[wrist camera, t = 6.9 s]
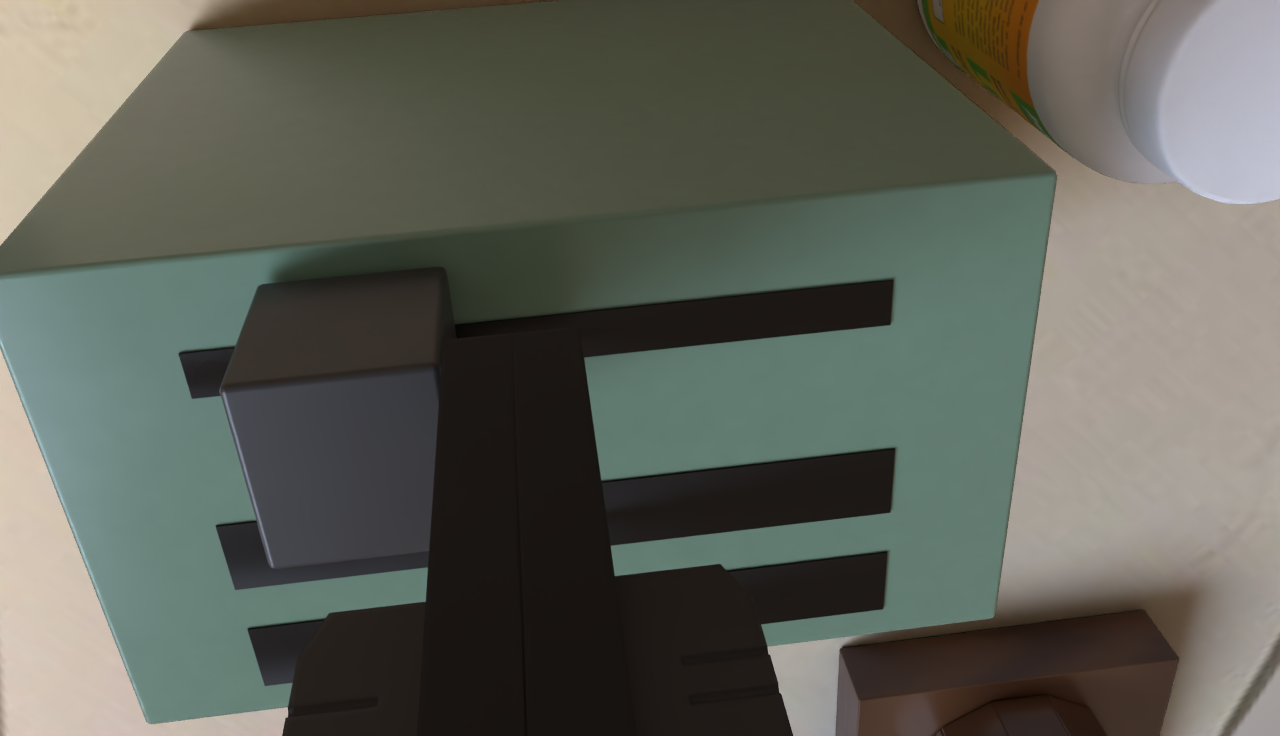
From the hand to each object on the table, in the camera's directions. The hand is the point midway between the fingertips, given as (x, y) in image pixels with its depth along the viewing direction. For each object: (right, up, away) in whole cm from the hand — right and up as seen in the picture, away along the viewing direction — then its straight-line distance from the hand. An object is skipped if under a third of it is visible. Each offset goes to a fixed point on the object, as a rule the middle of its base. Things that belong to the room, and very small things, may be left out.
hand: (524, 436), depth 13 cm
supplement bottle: (+10, +10, +13) cm, 19 cm away
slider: (-2, +1, +2) cm, 3 cm away
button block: (+13, -11, +25) cm, 30 cm away
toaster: (-1, +5, +14) cm, 15 cm away
